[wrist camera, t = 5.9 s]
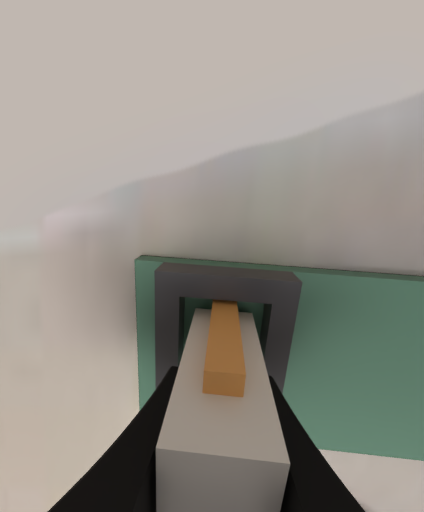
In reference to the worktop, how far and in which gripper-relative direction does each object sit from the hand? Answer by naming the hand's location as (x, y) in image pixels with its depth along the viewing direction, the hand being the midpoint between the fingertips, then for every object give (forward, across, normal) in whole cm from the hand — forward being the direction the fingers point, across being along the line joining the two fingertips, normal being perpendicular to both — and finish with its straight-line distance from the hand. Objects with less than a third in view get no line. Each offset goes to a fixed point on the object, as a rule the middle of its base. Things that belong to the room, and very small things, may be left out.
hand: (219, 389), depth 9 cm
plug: (+3, 0, 0) cm, 3 cm away
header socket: (+4, 0, 0) cm, 4 cm away
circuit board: (+4, -5, +2) cm, 7 cm away
